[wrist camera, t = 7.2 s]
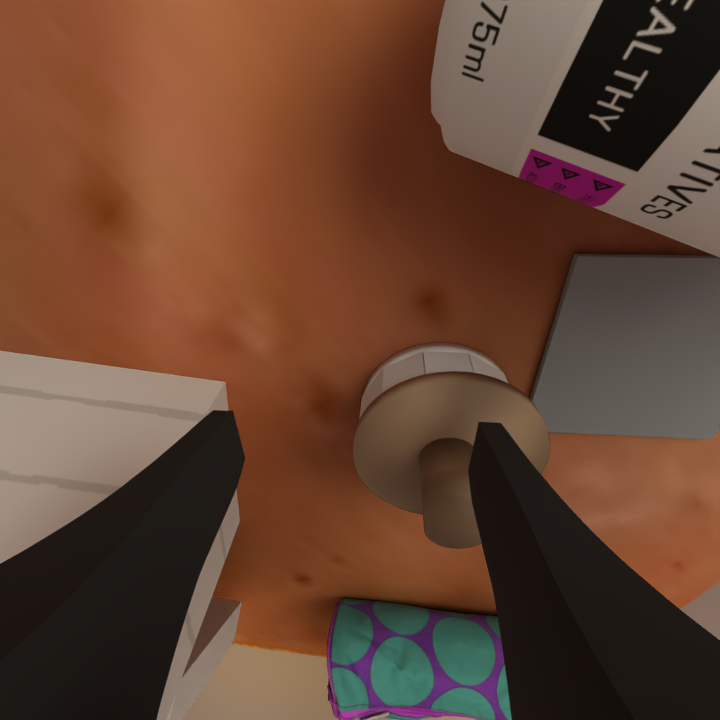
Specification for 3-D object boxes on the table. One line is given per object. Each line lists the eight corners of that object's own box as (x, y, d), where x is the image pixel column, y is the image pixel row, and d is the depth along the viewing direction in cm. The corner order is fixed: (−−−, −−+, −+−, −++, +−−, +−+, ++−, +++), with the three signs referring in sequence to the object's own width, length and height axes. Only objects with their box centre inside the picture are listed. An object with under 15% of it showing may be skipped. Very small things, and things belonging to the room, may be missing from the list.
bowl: (526, 345, 21) (547, 384, 18) (495, 458, 26) (508, 503, 23) (362, 339, 21) (357, 377, 18) (363, 451, 26) (359, 494, 23)
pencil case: (335, 622, 42) (321, 744, 34) (334, 580, 37) (317, 712, 29) (529, 640, 41) (562, 772, 33) (555, 600, 36) (602, 744, 28)
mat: (828, 257, 17) (836, 260, 17) (706, 434, 23) (711, 439, 23) (574, 253, 18) (577, 256, 18) (521, 426, 24) (523, 431, 24)
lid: (565, 370, 17) (616, 449, 13) (526, 507, 23) (553, 591, 19) (347, 371, 18) (333, 446, 14) (359, 502, 24) (352, 582, 20)
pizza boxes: (86, 573, 39) (-103, 861, 24) (-58, 314, 23) (-951, 727, 8) (270, 598, 39) (195, 901, 24) (263, 358, 23) (5, 856, 8)
